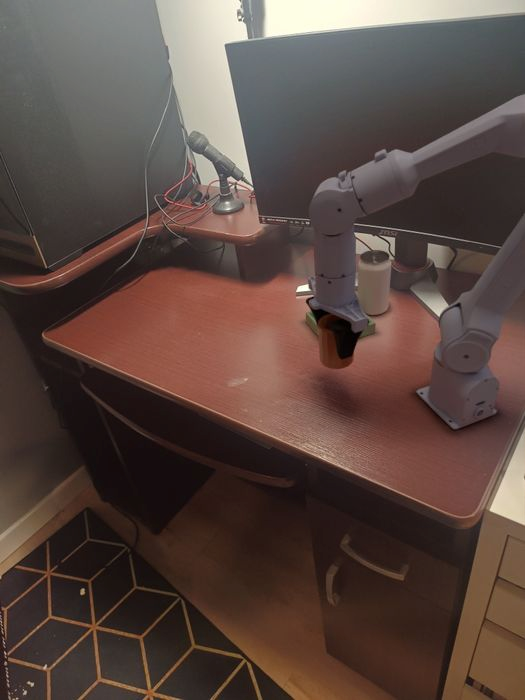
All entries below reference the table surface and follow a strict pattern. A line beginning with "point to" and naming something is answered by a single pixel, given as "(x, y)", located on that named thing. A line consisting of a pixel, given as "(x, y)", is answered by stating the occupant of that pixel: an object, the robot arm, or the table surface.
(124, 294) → the table surface
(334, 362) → the cup
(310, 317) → the tray
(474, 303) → the robot arm
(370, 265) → the can
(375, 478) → the table surface
